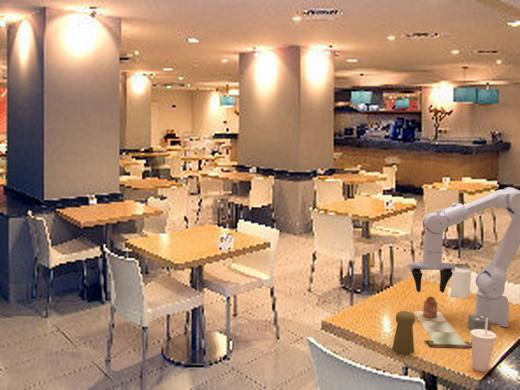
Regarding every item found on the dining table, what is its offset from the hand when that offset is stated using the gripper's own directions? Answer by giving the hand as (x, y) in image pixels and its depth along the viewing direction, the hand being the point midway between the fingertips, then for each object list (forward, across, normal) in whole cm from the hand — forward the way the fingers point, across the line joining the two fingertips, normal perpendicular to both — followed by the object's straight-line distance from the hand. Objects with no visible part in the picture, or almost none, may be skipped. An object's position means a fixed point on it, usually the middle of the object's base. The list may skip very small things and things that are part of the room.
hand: (430, 291), depth 179 cm
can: (+10, -19, -22) cm, 31 cm away
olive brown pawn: (+10, +15, +24) cm, 30 cm away
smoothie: (+10, -3, +35) cm, 36 cm away
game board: (+9, 0, +9) cm, 13 cm away
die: (+10, -12, +12) cm, 19 cm away
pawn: (+8, 0, 0) cm, 8 cm away
